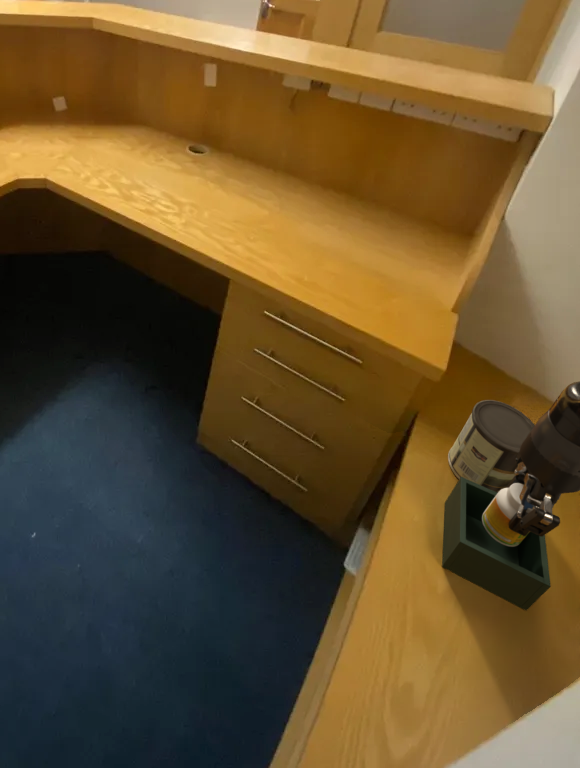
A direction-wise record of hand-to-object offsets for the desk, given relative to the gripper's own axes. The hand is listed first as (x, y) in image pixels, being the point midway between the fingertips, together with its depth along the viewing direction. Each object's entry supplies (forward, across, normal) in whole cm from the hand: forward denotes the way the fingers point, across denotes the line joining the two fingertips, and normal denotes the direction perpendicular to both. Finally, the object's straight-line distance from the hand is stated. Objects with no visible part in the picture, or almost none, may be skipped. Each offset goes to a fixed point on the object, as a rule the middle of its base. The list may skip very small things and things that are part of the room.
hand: (515, 511), depth 78 cm
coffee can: (+14, +16, +1) cm, 21 cm away
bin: (+13, 0, 0) cm, 13 cm away
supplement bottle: (+6, 0, 0) cm, 6 cm away
